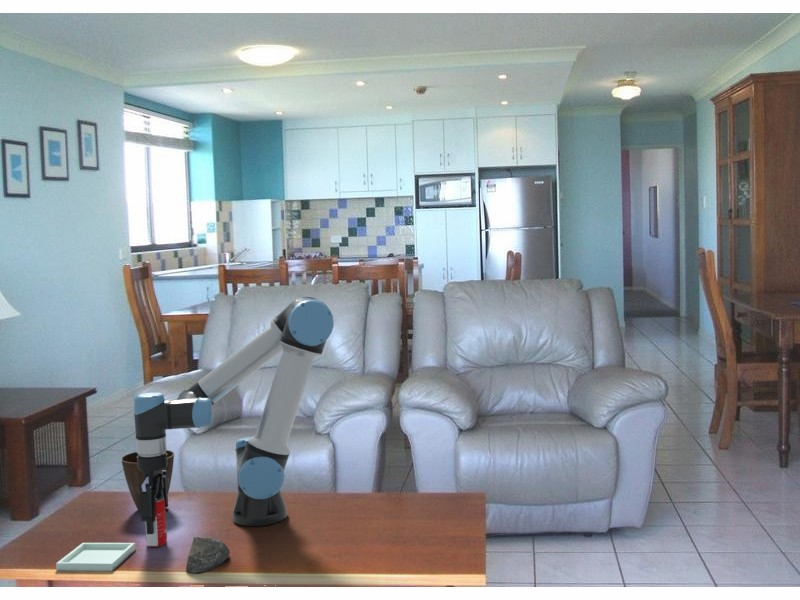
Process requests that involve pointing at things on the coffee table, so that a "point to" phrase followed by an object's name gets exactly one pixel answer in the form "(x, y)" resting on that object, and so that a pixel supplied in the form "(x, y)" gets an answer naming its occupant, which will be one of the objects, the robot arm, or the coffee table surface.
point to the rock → (206, 555)
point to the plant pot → (141, 474)
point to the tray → (96, 557)
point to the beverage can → (160, 521)
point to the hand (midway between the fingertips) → (156, 541)
